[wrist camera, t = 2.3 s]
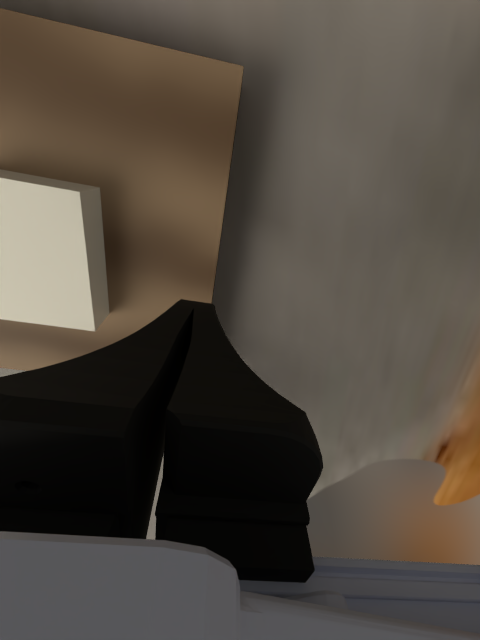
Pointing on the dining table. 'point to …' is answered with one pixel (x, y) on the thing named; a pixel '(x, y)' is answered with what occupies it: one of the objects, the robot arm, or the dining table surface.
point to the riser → (120, 165)
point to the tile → (51, 252)
